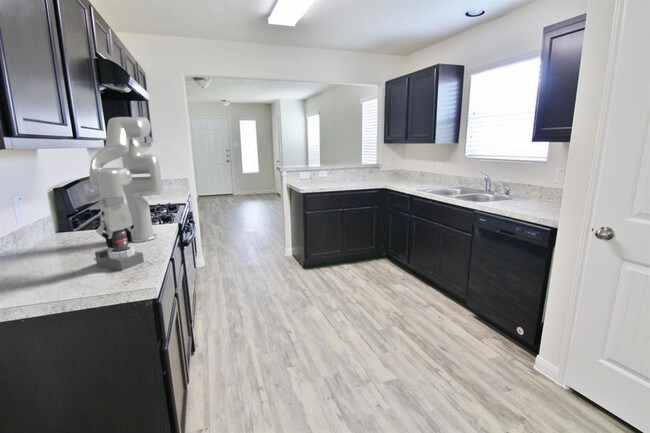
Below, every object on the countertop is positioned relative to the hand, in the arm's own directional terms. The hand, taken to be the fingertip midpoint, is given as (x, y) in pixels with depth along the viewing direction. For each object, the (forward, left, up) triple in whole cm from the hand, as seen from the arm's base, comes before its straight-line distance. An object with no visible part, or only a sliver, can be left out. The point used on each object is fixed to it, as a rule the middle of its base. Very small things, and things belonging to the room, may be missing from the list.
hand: (120, 244), depth 136 cm
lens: (0, 0, -5) cm, 5 cm away
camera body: (-1, 0, -9) cm, 9 cm away
